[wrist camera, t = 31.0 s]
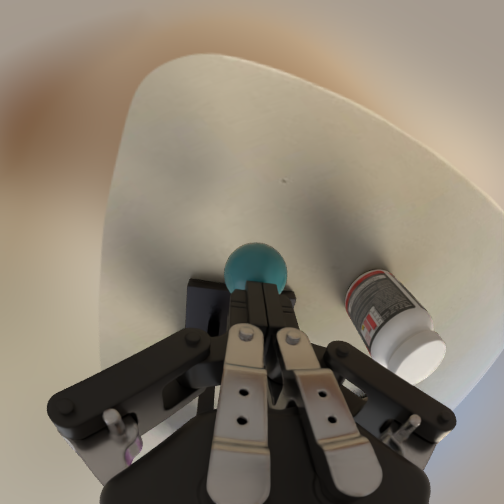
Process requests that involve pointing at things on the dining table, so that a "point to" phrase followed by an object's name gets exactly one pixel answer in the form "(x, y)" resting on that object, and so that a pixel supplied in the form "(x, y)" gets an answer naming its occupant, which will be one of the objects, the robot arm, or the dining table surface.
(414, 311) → the pill bottle
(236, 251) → the lever with teal knob
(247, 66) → the dining table surface
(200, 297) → the bracket
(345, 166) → the dining table surface
